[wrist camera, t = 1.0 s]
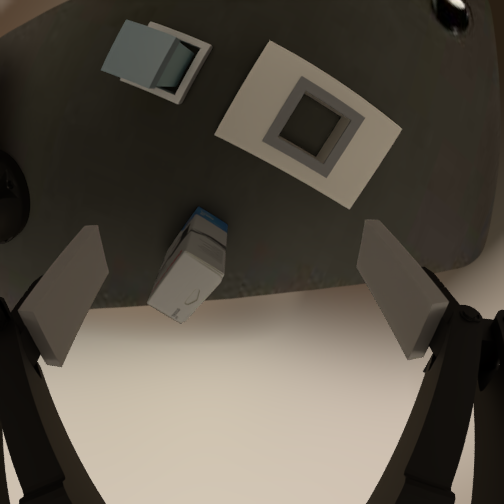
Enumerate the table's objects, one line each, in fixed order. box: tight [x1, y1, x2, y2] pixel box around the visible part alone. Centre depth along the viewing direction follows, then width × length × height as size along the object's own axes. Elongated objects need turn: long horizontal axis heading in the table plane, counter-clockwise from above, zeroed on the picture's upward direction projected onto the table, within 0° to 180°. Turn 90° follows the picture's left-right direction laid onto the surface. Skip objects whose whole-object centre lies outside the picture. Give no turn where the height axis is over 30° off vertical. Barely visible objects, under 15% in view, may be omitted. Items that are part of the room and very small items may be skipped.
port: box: [214, 41, 402, 209], centre depth 33 cm, size 18×12×4 cm, turn 61°
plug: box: [101, 20, 194, 89], centre depth 25 cm, size 5×5×12 cm
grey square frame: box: [120, 21, 213, 104], centre depth 29 cm, size 8×8×2 cm
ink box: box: [147, 207, 228, 324], centre depth 36 cm, size 8×5×12 cm, turn 142°
